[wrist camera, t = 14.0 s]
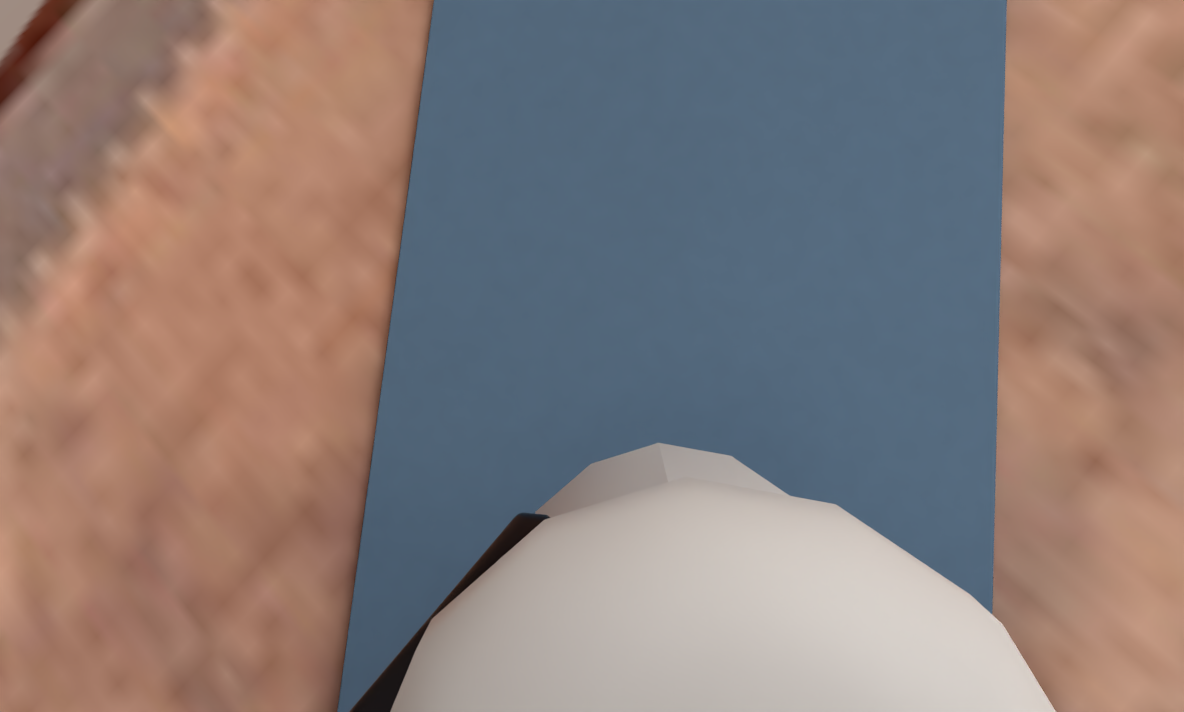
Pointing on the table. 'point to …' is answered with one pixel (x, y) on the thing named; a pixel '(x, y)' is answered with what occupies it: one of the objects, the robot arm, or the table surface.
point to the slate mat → (690, 274)
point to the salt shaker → (710, 609)
